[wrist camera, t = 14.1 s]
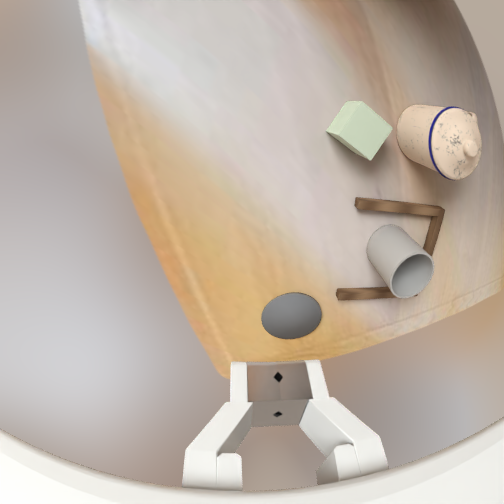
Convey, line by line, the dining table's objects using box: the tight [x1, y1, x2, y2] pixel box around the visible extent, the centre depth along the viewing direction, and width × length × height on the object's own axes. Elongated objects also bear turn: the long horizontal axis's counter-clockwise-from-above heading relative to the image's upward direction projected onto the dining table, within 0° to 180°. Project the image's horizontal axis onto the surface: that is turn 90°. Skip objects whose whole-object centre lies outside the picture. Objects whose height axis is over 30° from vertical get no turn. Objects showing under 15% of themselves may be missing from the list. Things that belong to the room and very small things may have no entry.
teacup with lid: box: [397, 104, 482, 180], centre depth 26 cm, size 12×9×12 cm
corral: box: [336, 197, 445, 300], centre depth 40 cm, size 16×16×2 cm
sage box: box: [326, 101, 393, 161], centre depth 30 cm, size 5×5×5 cm
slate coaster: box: [262, 293, 321, 339], centre depth 46 cm, size 10×10×1 cm
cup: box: [367, 225, 434, 298], centre depth 37 cm, size 7×10×9 cm
